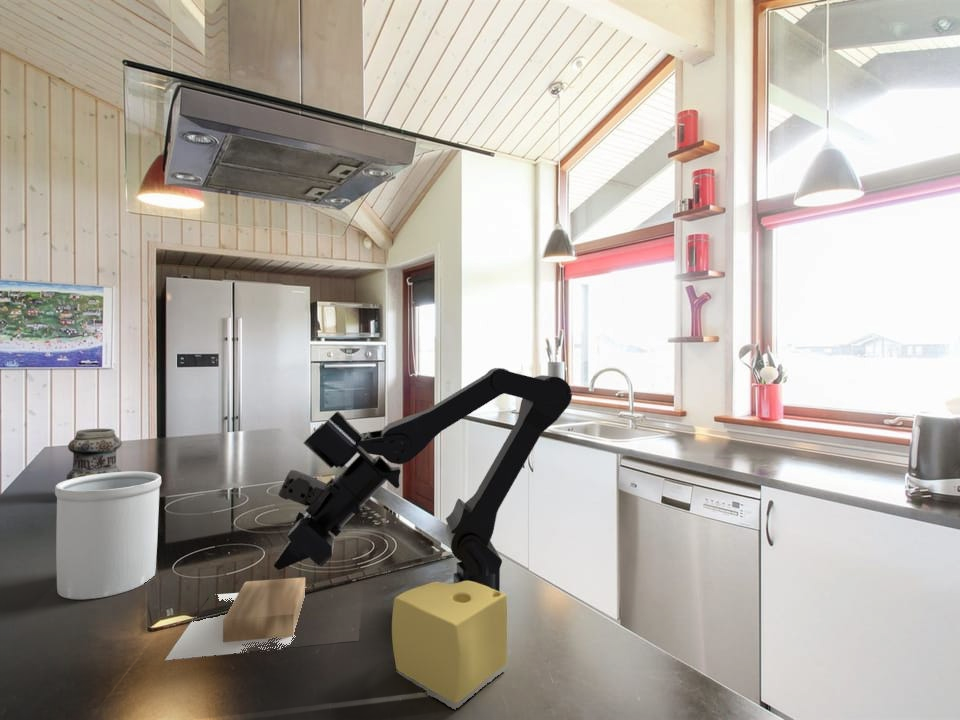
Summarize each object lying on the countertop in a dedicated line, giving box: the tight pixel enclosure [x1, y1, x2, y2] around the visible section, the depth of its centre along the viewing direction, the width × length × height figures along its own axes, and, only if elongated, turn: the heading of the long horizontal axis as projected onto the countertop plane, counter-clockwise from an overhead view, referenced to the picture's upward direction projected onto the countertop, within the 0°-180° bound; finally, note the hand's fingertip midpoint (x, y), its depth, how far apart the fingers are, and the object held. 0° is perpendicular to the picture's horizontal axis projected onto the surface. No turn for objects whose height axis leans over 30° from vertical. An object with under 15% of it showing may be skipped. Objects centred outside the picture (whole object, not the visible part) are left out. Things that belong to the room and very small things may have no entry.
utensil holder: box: [54, 470, 162, 600], centre depth 88 cm, size 15×15×18 cm
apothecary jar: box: [66, 428, 123, 480], centre depth 141 cm, size 12×12×18 cm
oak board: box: [223, 576, 306, 642], centre depth 76 cm, size 3×12×9 cm
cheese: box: [391, 581, 508, 703], centre depth 63 cm, size 10×11×10 cm
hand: (276, 567), depth 76 cm, fingers closed
